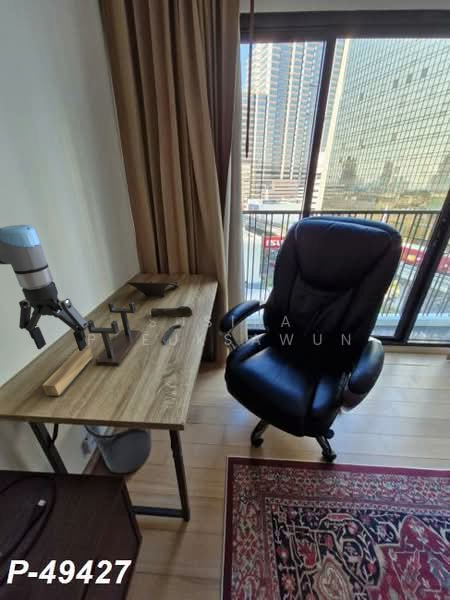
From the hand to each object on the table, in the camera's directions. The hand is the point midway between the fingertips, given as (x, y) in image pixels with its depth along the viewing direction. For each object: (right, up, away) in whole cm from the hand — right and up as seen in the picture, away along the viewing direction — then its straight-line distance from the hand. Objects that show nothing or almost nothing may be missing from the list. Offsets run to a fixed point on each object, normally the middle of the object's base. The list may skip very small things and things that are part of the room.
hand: (62, 347), depth 78 cm
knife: (+28, 0, +26) cm, 39 cm away
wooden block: (0, -11, +5) cm, 12 cm away
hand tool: (+26, +7, +41) cm, 49 cm away
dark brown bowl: (+13, +18, +64) cm, 67 cm away
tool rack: (+10, -4, +19) cm, 22 cm away
